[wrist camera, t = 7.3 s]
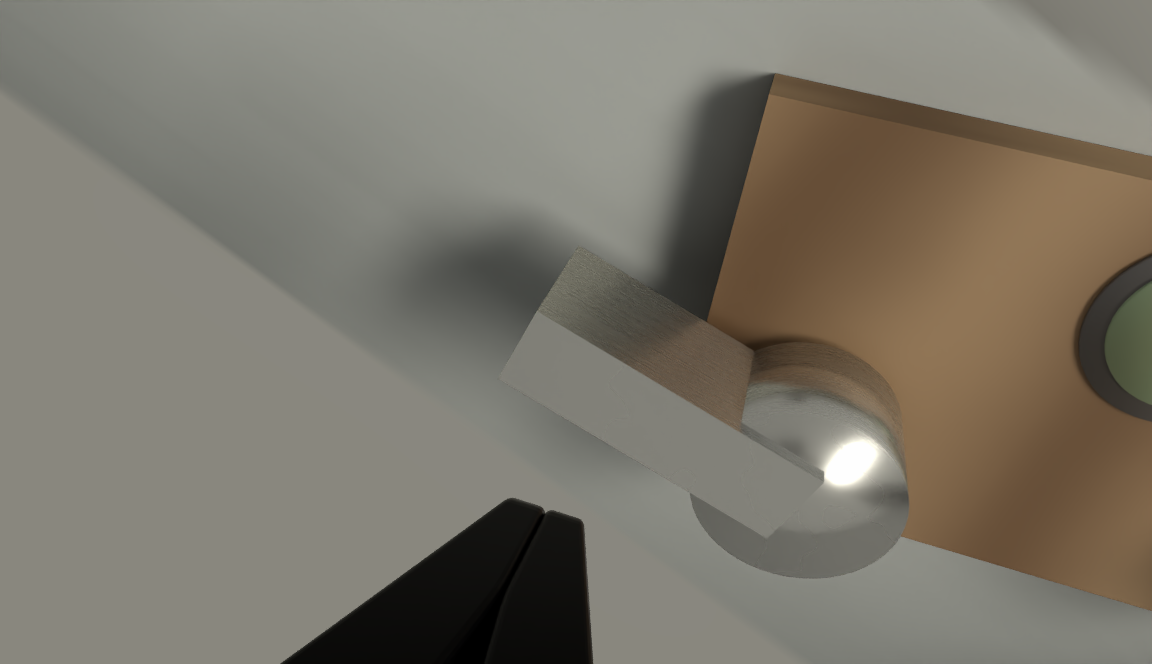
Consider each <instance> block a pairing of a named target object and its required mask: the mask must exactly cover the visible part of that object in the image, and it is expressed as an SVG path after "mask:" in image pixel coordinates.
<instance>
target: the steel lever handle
mask: <svg viewBox="0 0 1152 664" xmlns="http://www.w3.org/2000/svg"><path fill="white" fill-rule="evenodd" d="M498 379H499V380H501V381H502V382H504V383H506V384H507V385H509V386H511V387H512V388H514V389H516V390H518V391H519V392H521V393H523V394H524V395H526V396H528V397H529V398H531V399H533V400H534V401H536V402H538V403H539V404H541V405H543V406H544V407H546V408H548V409H550V410H551V411H553V412H555V413H556V414H558V415H560V416H561V417H563V418H565V419H566V420H568V421H570V422H571V423H573V424H575V425H576V426H578V427H580V428H582V429H583V430H585V431H587V432H588V433H590V434H592V435H593V436H595V437H597V438H598V439H600V440H602V441H603V442H605V443H607V444H609V445H610V446H612V447H614V448H615V449H617V450H619V451H620V452H622V453H624V454H625V455H627V456H629V457H630V458H632V459H634V460H635V461H637V462H639V463H641V464H642V465H644V466H646V467H647V468H649V469H651V470H652V471H654V472H656V473H657V474H659V475H661V476H662V477H664V478H666V479H668V480H669V481H671V482H673V483H674V484H676V485H678V486H679V487H681V488H683V489H684V490H686V491H688V492H689V493H690V496H691V501H692V505H693V508H694V511H695V513H696V516H697V518H698V520H699V521H700V523H701V525H702V526H703V528H704V529H705V530H706V532H707V533H708V534H709V536H710V537H711V538H712V539H713V540H714V541H715V542H716V543H717V544H718V545H720V546H721V547H722V548H723V549H724V550H726V551H727V552H728V553H730V554H731V555H733V556H734V557H736V558H737V559H739V560H741V561H743V562H745V563H747V564H749V565H751V566H753V567H756V568H758V569H761V570H764V571H767V572H770V573H773V574H778V575H783V576H787V577H796V578H828V577H834V576H840V575H844V574H847V573H851V572H854V571H857V570H859V569H862V568H864V567H866V566H868V565H870V564H872V563H873V562H875V561H877V560H878V559H879V558H881V557H882V556H884V555H885V554H886V553H887V552H888V551H889V550H890V549H891V548H892V547H893V546H894V545H895V543H896V542H897V541H898V539H899V538H900V536H901V534H902V532H903V530H904V528H905V526H906V523H907V519H908V514H909V495H908V483H907V471H906V460H905V448H904V436H903V424H902V413H901V410H900V406H899V402H898V400H897V398H896V395H895V393H894V392H893V390H892V388H891V387H890V385H889V384H888V382H887V381H886V380H885V379H884V378H883V377H882V375H881V374H880V373H879V372H877V371H876V370H875V369H874V368H873V367H872V366H871V365H869V364H868V363H866V362H865V361H863V360H862V359H860V358H858V357H856V356H854V355H853V354H851V353H849V352H846V351H843V350H841V349H838V348H835V347H831V346H828V345H824V344H817V343H810V342H789V343H780V344H775V345H770V346H767V347H763V348H760V349H758V350H755V351H753V350H752V349H750V348H748V347H747V346H745V345H743V344H742V343H740V342H738V341H737V340H735V339H733V338H732V337H730V336H728V335H727V334H725V333H723V332H722V331H720V330H718V329H717V328H715V327H714V326H712V325H710V324H709V323H707V322H705V321H704V320H702V319H700V318H699V317H697V316H695V315H694V314H692V313H690V312H689V311H687V310H685V309H684V308H682V307H680V306H679V305H677V304H675V303H674V302H672V301H670V300H669V299H667V298H665V297H664V296H662V295H660V294H659V293H657V292H655V291H654V290H652V289H650V288H649V287H647V286H645V285H644V284H642V283H640V282H639V281H637V280H635V279H634V278H632V277H630V276H629V275H627V274H625V273H624V272H622V271H620V270H619V269H617V268H615V267H614V266H612V265H610V264H609V263H607V262H605V261H604V260H602V259H600V258H599V257H597V256H595V255H594V254H592V253H590V252H589V251H587V250H585V249H584V248H582V247H580V246H578V247H577V249H576V251H575V252H574V254H573V255H572V257H571V258H570V260H569V261H568V263H567V265H566V266H565V268H564V269H563V271H562V272H561V274H560V276H559V277H558V279H557V280H556V282H555V283H554V285H553V287H552V288H551V290H550V291H549V293H548V294H547V296H546V297H545V299H544V301H543V302H542V304H541V305H540V307H539V308H538V310H537V312H536V313H535V315H534V317H533V319H532V320H531V322H530V324H529V325H528V327H527V329H526V331H525V332H524V334H523V336H522V338H521V339H520V341H519V343H518V344H517V346H516V348H515V350H514V351H513V353H512V355H511V357H510V358H509V360H508V362H507V363H506V365H505V367H504V369H503V370H502V372H501V374H500V376H499V377H498Z"/></svg>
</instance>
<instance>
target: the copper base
mask: <svg viewBox="0 0 1152 664" xmlns="http://www.w3.org/2000/svg"><path fill="white" fill-rule="evenodd" d="M707 323H709V324H710V325H712V326H714V327H715V328H717V329H718V330H720V331H722V332H723V333H725V334H727V335H728V336H730V337H732V338H733V339H735V340H737V341H738V342H740V343H742V344H743V345H745V346H747V347H748V348H750V349H752V350H753V351H755V350H758V349H760V348H763V347H767V346H770V345H775V344H780V343H789V342H810V343H817V344H824V345H828V346H831V347H835V348H838V349H841V350H843V351H846V352H849V353H851V354H853V355H854V356H856V357H858V358H860V359H862V360H863V361H865V362H866V363H868V364H869V365H871V366H872V367H873V368H874V369H875V370H876V371H877V372H879V373H880V374H881V375H882V377H883V378H884V379H885V380H886V381H887V382H888V384H889V385H890V387H891V388H892V390H893V392H894V393H895V395H896V398H897V400H898V402H899V406H900V410H901V413H902V424H903V436H904V448H905V460H906V471H907V483H908V495H909V514H908V519H907V523H906V526H905V528H904V530H903V532H902V534H901V536H902V537H905V538H909V539H912V540H915V541H919V542H922V543H925V544H929V545H932V546H936V547H939V548H942V549H946V550H949V551H952V552H956V553H959V554H962V555H966V556H969V557H972V558H976V559H979V560H983V561H986V562H989V563H993V564H996V565H999V566H1003V567H1006V568H1009V569H1013V570H1016V571H1019V572H1023V573H1026V574H1030V575H1033V576H1036V577H1040V578H1043V579H1046V580H1050V581H1053V582H1056V583H1060V584H1063V585H1066V586H1070V587H1073V588H1077V589H1080V590H1083V591H1087V592H1090V593H1093V594H1097V595H1100V596H1103V597H1107V598H1110V599H1113V600H1117V601H1120V602H1124V603H1127V604H1130V605H1134V606H1137V607H1140V608H1144V609H1147V610H1150V611H1152V157H1151V156H1147V155H1142V154H1138V153H1133V152H1129V151H1124V150H1120V149H1115V148H1111V147H1106V146H1102V145H1097V144H1092V143H1088V142H1083V141H1079V140H1074V139H1070V138H1065V137H1061V136H1056V135H1052V134H1047V133H1043V132H1038V131H1034V130H1029V129H1025V128H1020V127H1016V126H1011V125H1007V124H1002V123H998V122H993V121H989V120H984V119H980V118H975V117H971V116H966V115H962V114H957V113H952V112H948V111H943V110H939V109H934V108H930V107H925V106H921V105H916V104H912V103H907V102H903V101H898V100H894V99H889V98H885V97H880V96H876V95H871V94H867V93H862V92H858V91H853V90H849V89H844V88H840V87H835V86H831V85H826V84H822V83H817V82H813V81H808V80H803V79H799V78H794V77H790V76H785V75H781V74H776V73H775V76H774V79H773V82H772V86H771V89H770V93H769V96H768V100H767V103H766V107H765V111H764V114H763V118H762V122H761V125H760V129H759V133H758V136H757V140H756V143H755V147H754V151H753V154H752V158H751V162H750V165H749V169H748V173H747V176H746V180H745V184H744V187H743V191H742V195H741V198H740V202H739V205H738V209H737V213H736V216H735V220H734V224H733V227H732V231H731V235H730V238H729V242H728V246H727V249H726V253H725V257H724V260H723V264H722V267H721V271H720V275H719V278H718V282H717V286H716V289H715V293H714V297H713V300H712V304H711V308H710V311H709V315H708V319H707Z"/></svg>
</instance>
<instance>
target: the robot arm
mask: <svg viewBox="0 0 1152 664" xmlns="http://www.w3.org/2000/svg"><path fill="white" fill-rule="evenodd" d="M589 609H590V608H589V593H588V579H587V562H586V547H585V533H584V524H583V522H582V521H581V520H580V519H578V518H576V517H572V516H569V515H566V514H563V513H560V512H556V511H554V510H550V511H548V512H546V513H545V511H544V510H543V508H542V507H540V506H538V505H535V504H531V503H528V502H525V501H522V500H519V499H516V498H509V499H507V500H505V501H503V502H502V503H501V504H499V505H498V506H496V507H495V508H494V509H492V510H491V511H490V512H488V513H487V514H485V515H484V516H483V517H481V518H480V519H478V520H477V521H476V522H474V523H473V524H472V525H470V526H469V527H468V528H466V529H465V530H463V531H462V532H461V533H459V534H458V535H457V536H455V537H454V538H453V539H451V540H450V541H448V542H447V543H446V544H444V545H443V546H441V547H440V548H439V549H437V550H436V551H435V552H433V553H432V554H430V555H429V556H428V557H426V558H425V559H424V560H422V561H421V562H420V563H418V564H417V565H416V566H414V567H413V568H411V569H410V570H408V571H407V572H406V573H404V574H403V575H402V576H400V577H399V578H397V579H396V580H395V581H393V582H392V583H391V584H389V585H388V586H386V587H385V588H384V589H382V590H381V591H380V592H378V593H377V594H375V595H374V596H373V597H372V598H370V599H369V600H367V601H366V602H364V603H363V604H362V605H360V606H359V607H358V608H356V609H355V610H354V611H352V612H351V613H349V614H348V615H347V616H345V617H344V618H342V619H341V620H340V621H338V622H337V623H336V624H334V625H333V626H332V627H330V628H329V629H328V630H326V631H325V632H323V633H322V634H321V635H319V636H318V637H316V638H315V639H314V640H312V641H311V642H310V643H308V644H307V645H305V646H304V647H303V648H301V649H300V650H299V651H297V652H296V653H294V654H293V655H292V656H291V657H289V658H288V659H286V660H285V661H283V662H282V663H281V664H593V653H592V638H591V623H590V610H589Z"/></svg>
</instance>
